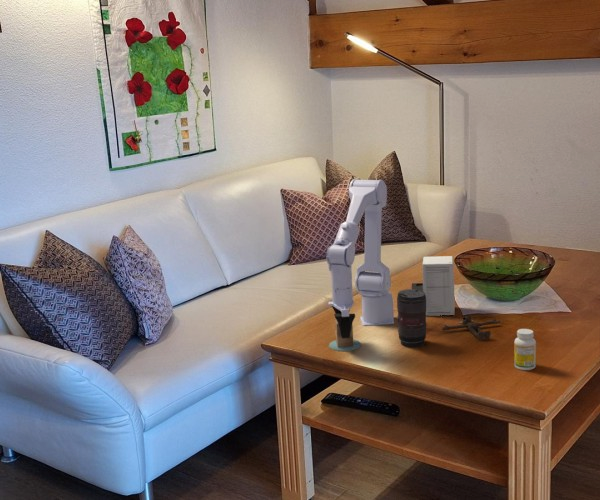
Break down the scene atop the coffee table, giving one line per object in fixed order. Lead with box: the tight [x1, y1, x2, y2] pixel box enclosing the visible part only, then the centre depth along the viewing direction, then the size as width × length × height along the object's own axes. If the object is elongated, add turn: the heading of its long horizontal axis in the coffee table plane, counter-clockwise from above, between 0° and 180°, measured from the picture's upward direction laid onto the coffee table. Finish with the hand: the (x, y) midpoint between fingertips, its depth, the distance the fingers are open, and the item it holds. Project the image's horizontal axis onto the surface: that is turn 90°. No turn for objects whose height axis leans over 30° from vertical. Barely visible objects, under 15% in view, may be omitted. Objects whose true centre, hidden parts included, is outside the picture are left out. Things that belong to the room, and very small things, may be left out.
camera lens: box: [396, 288, 427, 348], centre depth 231 cm, size 8×8×15 cm
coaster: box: [328, 338, 362, 352], centre depth 234 cm, size 9×9×1 cm
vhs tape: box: [411, 282, 423, 291], centre depth 277 cm, size 14×8×2 cm, turn 172°
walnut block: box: [334, 318, 354, 348], centre depth 233 cm, size 4×4×7 cm
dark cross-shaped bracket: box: [441, 314, 501, 341], centre depth 238 cm, size 18×4×14 cm
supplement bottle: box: [513, 328, 537, 371], centre depth 211 cm, size 5×5×10 cm
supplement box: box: [421, 255, 456, 317], centre depth 256 cm, size 10×9×17 cm
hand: (344, 332), depth 233 cm, fingers open, 7 cm apart
